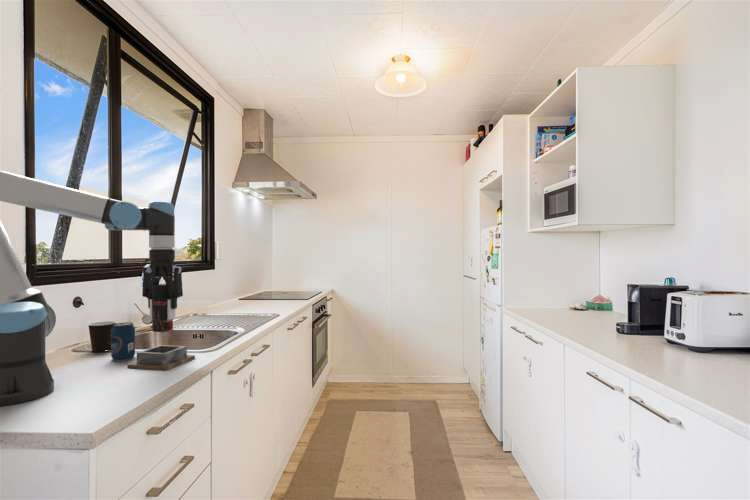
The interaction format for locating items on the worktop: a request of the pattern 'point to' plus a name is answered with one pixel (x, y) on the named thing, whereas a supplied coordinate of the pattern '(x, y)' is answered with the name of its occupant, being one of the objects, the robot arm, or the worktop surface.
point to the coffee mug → (101, 335)
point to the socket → (161, 357)
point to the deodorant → (160, 309)
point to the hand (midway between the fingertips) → (162, 318)
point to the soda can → (122, 341)
